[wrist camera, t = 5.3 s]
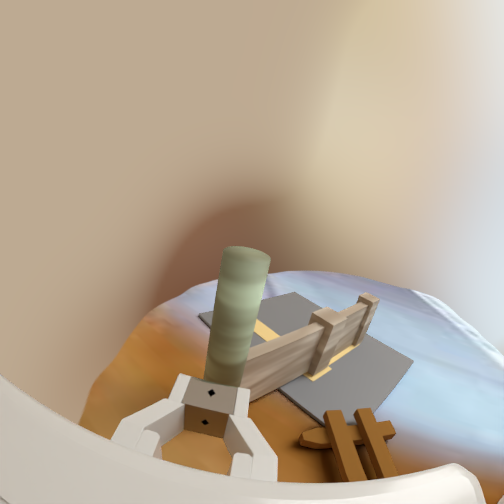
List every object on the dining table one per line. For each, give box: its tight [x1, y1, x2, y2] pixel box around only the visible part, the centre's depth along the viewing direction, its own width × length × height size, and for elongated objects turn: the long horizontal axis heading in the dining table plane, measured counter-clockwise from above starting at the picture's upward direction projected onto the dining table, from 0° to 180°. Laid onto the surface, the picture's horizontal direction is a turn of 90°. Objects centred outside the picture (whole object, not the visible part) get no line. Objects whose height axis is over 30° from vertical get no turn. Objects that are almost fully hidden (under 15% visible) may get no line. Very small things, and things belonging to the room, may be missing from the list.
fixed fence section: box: [332, 292, 380, 358], centre depth 35 cm, size 2×9×8 cm, turn 131°
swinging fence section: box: [204, 246, 348, 402], centre depth 24 cm, size 3×17×15 cm, turn 131°
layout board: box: [199, 292, 414, 427], centre depth 36 cm, size 26×21×1 cm
